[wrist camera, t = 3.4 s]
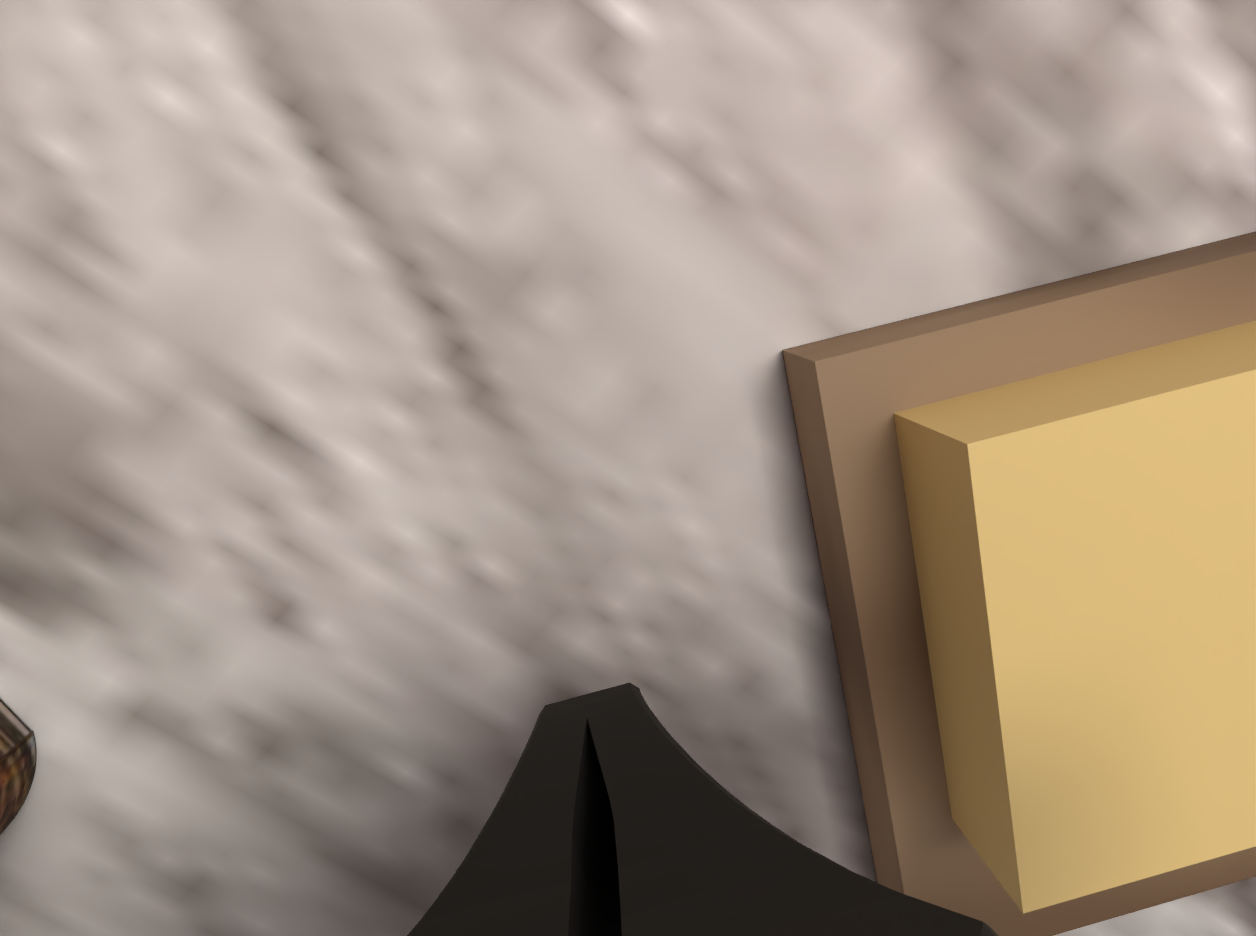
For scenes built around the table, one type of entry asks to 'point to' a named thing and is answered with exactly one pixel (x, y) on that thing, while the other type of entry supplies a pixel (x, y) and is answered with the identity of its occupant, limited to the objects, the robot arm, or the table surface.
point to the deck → (884, 557)
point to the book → (14, 765)
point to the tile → (1094, 612)
